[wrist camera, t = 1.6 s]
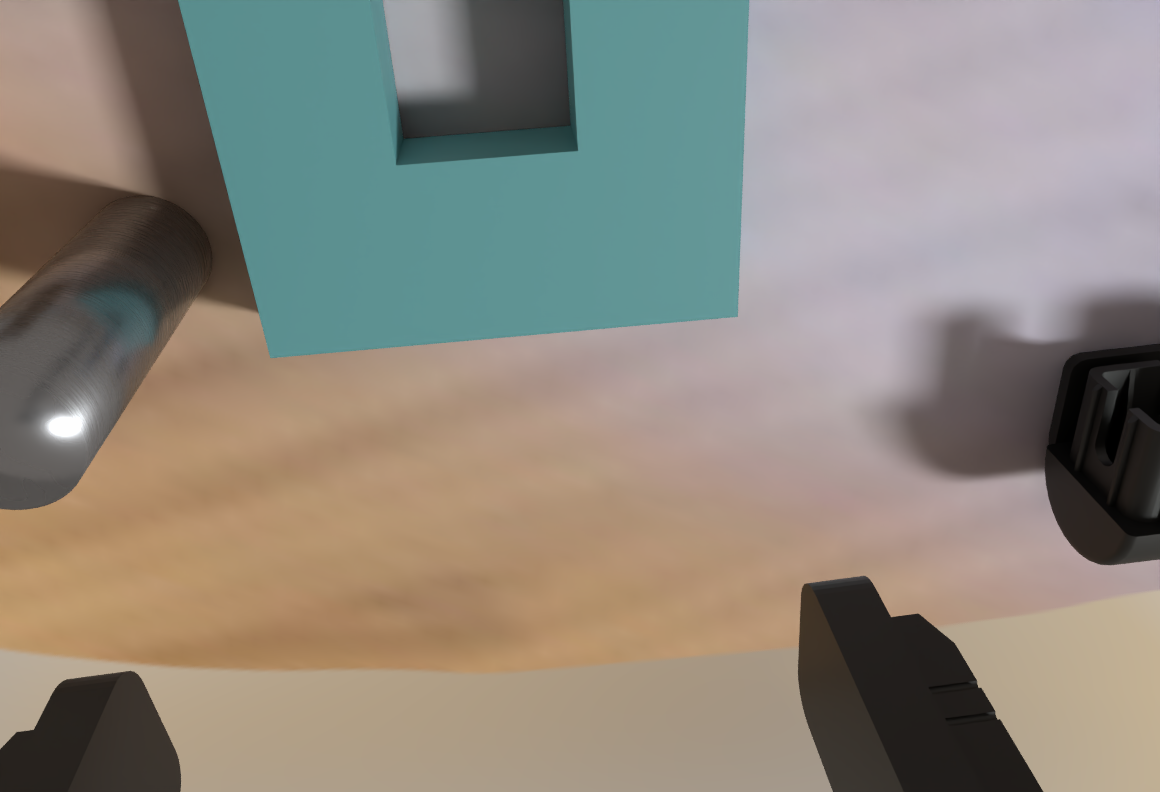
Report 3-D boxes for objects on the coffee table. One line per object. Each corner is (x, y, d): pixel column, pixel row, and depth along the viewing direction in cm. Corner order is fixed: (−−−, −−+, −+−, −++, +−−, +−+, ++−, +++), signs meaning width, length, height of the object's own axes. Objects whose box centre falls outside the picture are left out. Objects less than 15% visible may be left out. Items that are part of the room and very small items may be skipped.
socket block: (139, -289, 25) (99, -305, 22) (733, -323, 25) (761, -342, 23) (286, 319, 34) (270, 358, 31) (719, 281, 35) (737, 316, 32)
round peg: (73, 200, 31) (-130, 376, 21) (194, 190, 31) (52, 360, 21) (111, 308, 33) (-57, 517, 23) (224, 298, 33) (108, 501, 23)
